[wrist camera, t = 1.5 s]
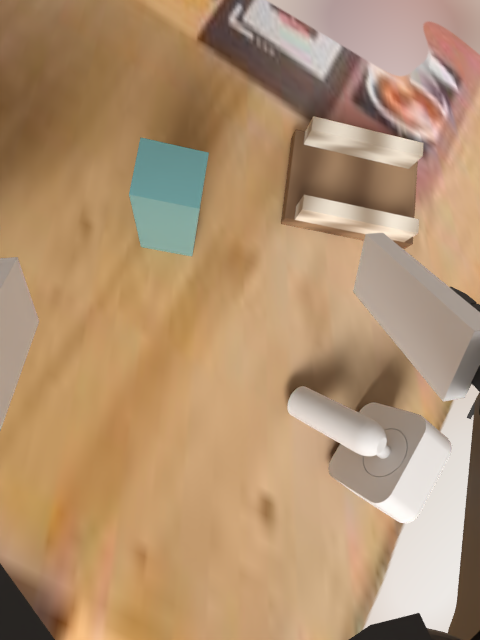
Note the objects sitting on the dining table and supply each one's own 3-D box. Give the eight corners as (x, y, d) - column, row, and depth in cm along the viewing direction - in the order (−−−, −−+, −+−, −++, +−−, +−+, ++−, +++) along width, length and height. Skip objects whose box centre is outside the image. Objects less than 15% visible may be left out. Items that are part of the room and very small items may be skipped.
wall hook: (307, 357, 39) (375, 368, 30) (376, 414, 42) (458, 440, 33) (262, 427, 37) (319, 462, 28) (337, 482, 40) (411, 530, 31)
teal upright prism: (141, 247, 39) (129, 194, 28) (149, 204, 40) (140, 137, 29) (192, 256, 39) (199, 208, 29) (199, 214, 40) (208, 152, 30)
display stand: (281, 223, 42) (292, 206, 38) (291, 138, 43) (303, 113, 39) (404, 248, 43) (427, 235, 40) (409, 165, 45) (432, 145, 41)
